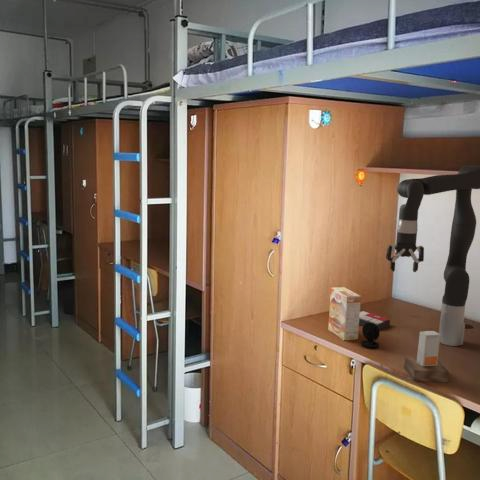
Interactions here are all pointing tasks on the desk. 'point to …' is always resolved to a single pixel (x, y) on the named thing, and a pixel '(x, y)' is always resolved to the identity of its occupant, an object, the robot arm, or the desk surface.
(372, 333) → the webcam
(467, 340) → the desk surface
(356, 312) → the coffeecake box
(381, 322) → the red and white box
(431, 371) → the walnut base
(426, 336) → the skincare box
